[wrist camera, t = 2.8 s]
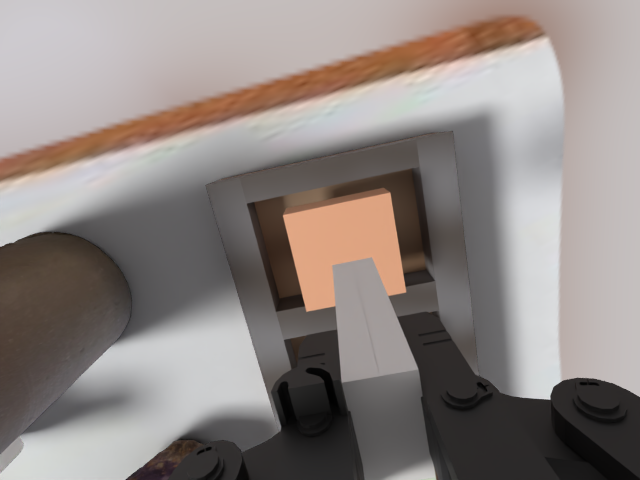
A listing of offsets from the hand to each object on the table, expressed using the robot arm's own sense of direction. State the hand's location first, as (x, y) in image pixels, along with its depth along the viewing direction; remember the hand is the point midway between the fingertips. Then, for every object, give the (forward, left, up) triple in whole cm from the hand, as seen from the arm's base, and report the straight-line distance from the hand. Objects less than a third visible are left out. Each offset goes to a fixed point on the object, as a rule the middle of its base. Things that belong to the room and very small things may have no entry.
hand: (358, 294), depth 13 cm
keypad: (-6, -7, -11) cm, 15 cm away
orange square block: (0, 0, -8) cm, 8 cm away
